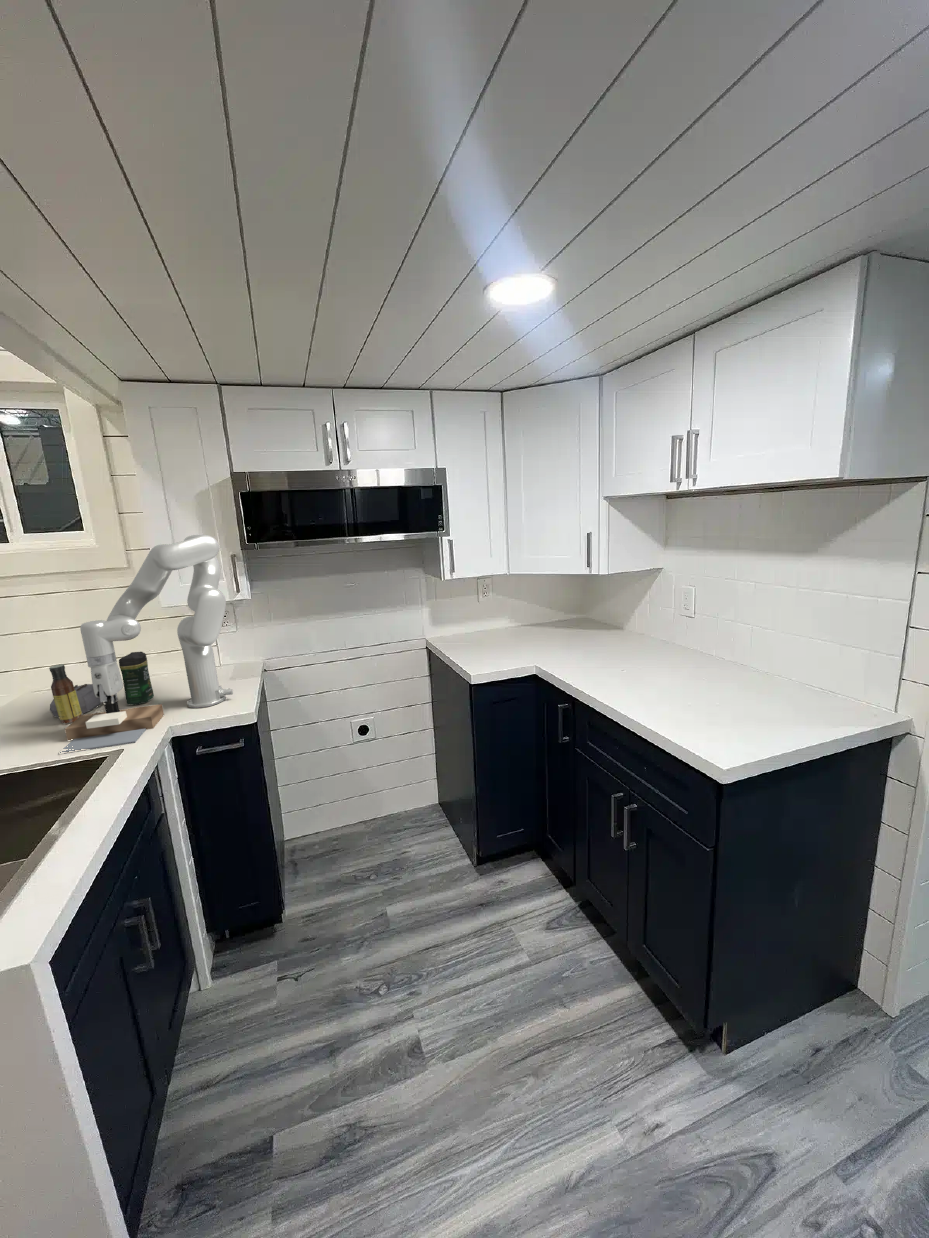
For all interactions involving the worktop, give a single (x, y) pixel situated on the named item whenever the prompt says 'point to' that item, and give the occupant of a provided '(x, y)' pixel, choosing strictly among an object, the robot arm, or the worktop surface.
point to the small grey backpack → (81, 699)
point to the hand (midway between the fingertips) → (113, 714)
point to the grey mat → (105, 740)
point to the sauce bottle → (64, 695)
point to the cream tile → (106, 719)
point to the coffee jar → (136, 678)
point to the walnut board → (134, 721)
